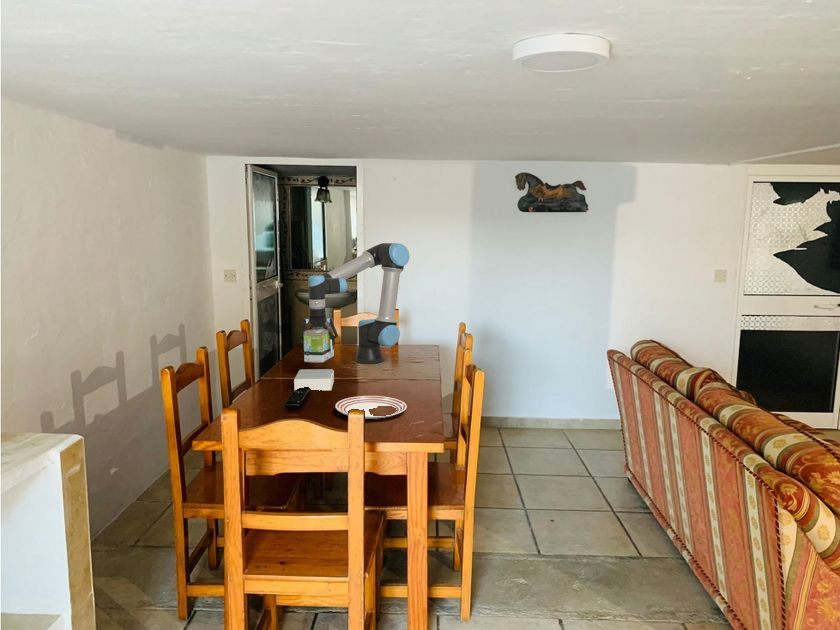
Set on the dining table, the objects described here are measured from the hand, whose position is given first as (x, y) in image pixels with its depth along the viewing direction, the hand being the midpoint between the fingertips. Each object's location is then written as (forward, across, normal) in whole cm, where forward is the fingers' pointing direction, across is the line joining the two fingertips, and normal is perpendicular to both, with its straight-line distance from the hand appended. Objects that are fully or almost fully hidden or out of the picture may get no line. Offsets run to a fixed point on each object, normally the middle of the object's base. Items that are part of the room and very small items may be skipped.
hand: (319, 352), depth 277 cm
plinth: (+11, -1, -18) cm, 22 cm away
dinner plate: (+12, +25, -60) cm, 66 cm away
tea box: (+3, 0, 0) cm, 3 cm away
